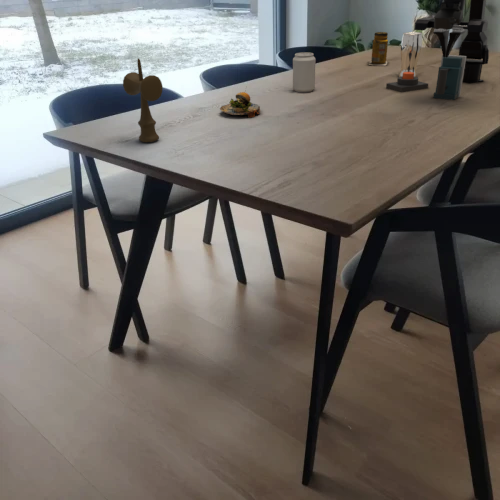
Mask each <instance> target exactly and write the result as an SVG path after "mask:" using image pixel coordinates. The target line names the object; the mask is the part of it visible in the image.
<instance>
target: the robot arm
mask: <svg viewBox="0 0 500 500" xmlns="http://www.w3.org/2000/svg"><path fill="white" fill-rule="evenodd" d="M486 3H487V0H470V3H469V12H468V13H469V15H468V21H464V20H463V19H464V7H465V5H466V0H442V1H441V4H440V8H439V10H437V12H436V14H435V15H434V16H433V17H421V18H417V19H416V21H414V26H413V30H414V31H426V30H427V29H434V30H433V32H432V34H433V35H436V36H437V37H438V40H439V43H440V48H441V53H442V55H443V57H446V58H447V57H448V56H449V55H451V53H452V50H453V48H454V46H455V44H456V43H457V41H458V40H459V38H460V36H461V35H464V34H465V33H466V30H467V34H466V36H465V37H464V39H463V40H462V41H461V44H460V46H459V50H458V56H466V62H465V69H464V75H463V81H462V83H465V84H475V83H483V82H484V79H481V76H482V70H483V66H484V65H488V64H489V59H490V50H489V45H487V44H488V37H487V35H486V34H485V32H486V31H487V30H488V24H489V22H488V21H487V19H486V18H485V15H486V14H485V13H486ZM450 30H451V31H450Z"/></svg>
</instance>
